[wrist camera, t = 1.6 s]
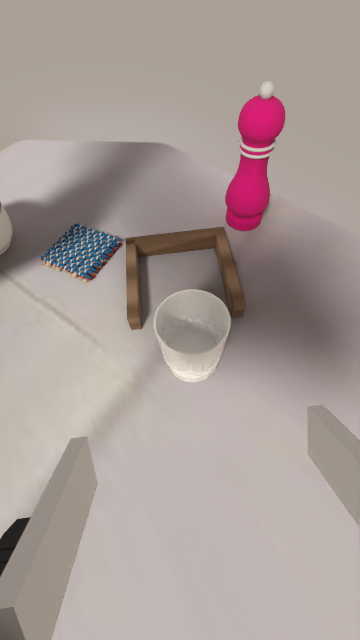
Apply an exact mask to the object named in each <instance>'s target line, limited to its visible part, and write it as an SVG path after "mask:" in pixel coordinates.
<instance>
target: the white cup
mask: <svg viewBox="0 0 360 640" xmlns="http://www.w3.org/2000/svg"><path fill="white" fill-rule="evenodd" d="M153 324H154V330H155V333H156V336H157V339H158V342H159V345H160V348H161V350H162V353H163V355H164V358H165V360H166V362H167V364H168V367H169V368H170V370H171V371H172V373H173V374H174V376H176V377H177V378H179V379H181V380H183V381H184V382H195V383H197V382H199V381H202V380H205V379H207V378H208V377H209V376H210V375H211V374H212V373H213V372H214V371H215V370H216V366H217V363H218V362H219V360H220V357H221V355H222V353H223V349H224V346H225V343H226V340H227V337H228V334H229V331H230V327H231V318H230V314H229V311H228V309H227V307H226V305H225V304H224V303H223V302H222V301H221V300H220V299H219V298H218V297H216V296H215V295H213V294H211V293H209V292H206V291H203V290H197V289H187V290H182V291H178V292H176V293H173V294H171V295H170V296H168V297H167V298H165V299H164V300H163V301H162V302H161V303H160V305H159V306H158V308H157V310H156V312H155V315H154V321H153Z"/></svg>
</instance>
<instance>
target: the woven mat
mask: <svg viewBox="0 0 360 640" xmlns="http://www.w3.org/2000/svg"><path fill="white" fill-rule="evenodd" d="M71 228H72V229H70V230H69V232H66V233H65V235H63V236H62V237H63V238H61V237H60V238H59V239H60V240H59V241H57V243H56V244H55V243H54V244H53V245H54V247H51V248H50V249H52V250H49V249H48V250H47V251H48V252H47V253H45V254H44V255H45V257H44V256H41V260H42V261H43V264H42V265H45V264H46V266H47V267H51V266H53V268H52V269H53V270H55V269H56V270H57V271H61V270H62V269H63V272H64V273H67V272H70V273H69V275H72V277H73V278H76V277H79V276H80V278H79V281H80V280H81V279H82V278H85V279H83V281H84V283H86V282H89V281H90V280H91V278H92V277H93V278H94V277H95V276H94V275H95V274H97V271H98V270H100V268H101V267H102V266H103V265H104V264H106V261H107V260H108V259H109V257H111V255H112V254H114V251H116V250H117V248H119V246H121V245H122V243H121V242H122V241H121V239H119V238H117V237H114V235H113V236H111V235H106V234H107V233H106V232H105V233H104V232H101V231H100V230H99V231H97V230H93V229H94V228H86V225H85V226H84V225H81V224H80V225H79V224H75V225H74V226H71ZM100 232H101V233H100ZM57 267H58V268H57ZM88 275H89V276H88Z"/></svg>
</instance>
